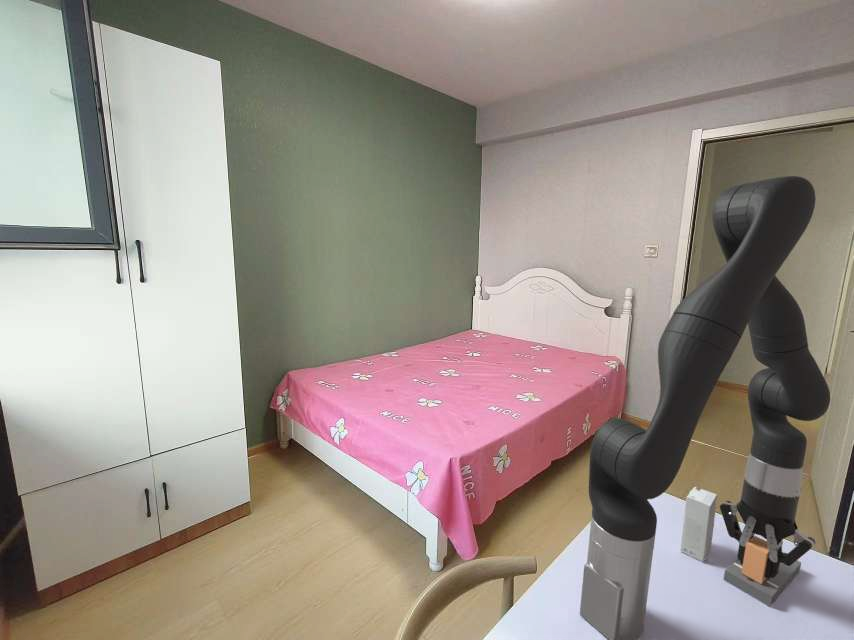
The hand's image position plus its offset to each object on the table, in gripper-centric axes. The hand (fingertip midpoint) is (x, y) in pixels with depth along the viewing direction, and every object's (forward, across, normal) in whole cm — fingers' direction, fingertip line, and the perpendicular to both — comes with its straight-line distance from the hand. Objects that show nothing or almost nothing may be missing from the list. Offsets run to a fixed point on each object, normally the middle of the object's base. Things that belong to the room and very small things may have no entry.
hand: (756, 569), depth 74 cm
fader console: (+3, 0, +4) cm, 5 cm away
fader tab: (+1, 0, 0) cm, 1 cm away
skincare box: (+3, -10, 0) cm, 11 cm away
